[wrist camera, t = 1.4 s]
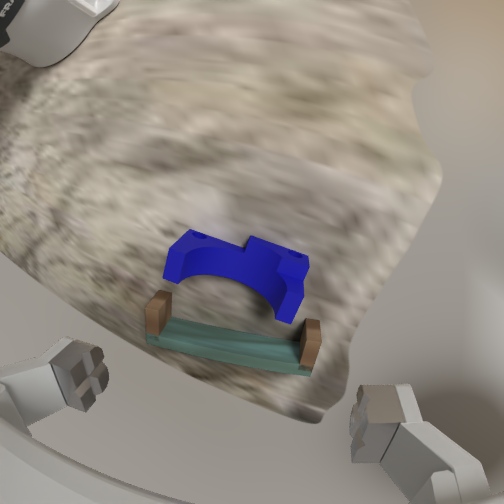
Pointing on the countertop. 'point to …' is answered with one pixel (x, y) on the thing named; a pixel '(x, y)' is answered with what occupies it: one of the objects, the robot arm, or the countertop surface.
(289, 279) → the cable clip
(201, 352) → the rail
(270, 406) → the countertop surface
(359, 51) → the countertop surface
